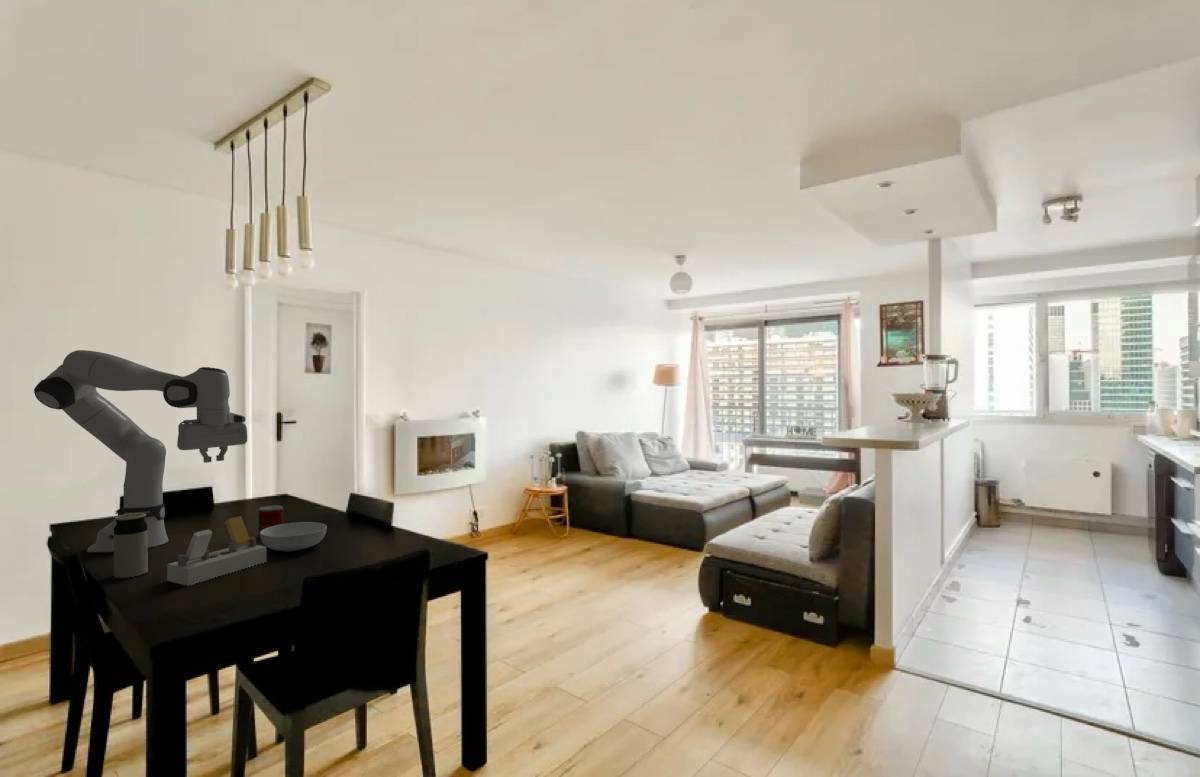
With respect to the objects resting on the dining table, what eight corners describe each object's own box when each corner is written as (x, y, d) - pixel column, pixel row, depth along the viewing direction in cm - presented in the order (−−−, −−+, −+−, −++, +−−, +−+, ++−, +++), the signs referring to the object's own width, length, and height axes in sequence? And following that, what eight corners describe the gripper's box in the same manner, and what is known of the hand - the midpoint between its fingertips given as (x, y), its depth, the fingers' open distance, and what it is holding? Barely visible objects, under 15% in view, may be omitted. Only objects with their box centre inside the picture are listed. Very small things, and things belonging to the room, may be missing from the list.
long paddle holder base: (167, 581, 172) (167, 554, 171) (246, 558, 193) (245, 534, 193) (188, 586, 167) (188, 558, 167) (266, 562, 189) (266, 538, 189)
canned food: (287, 535, 222) (287, 506, 222) (265, 540, 215) (265, 510, 215) (276, 532, 226) (275, 504, 226) (254, 537, 219) (254, 508, 219)
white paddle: (182, 560, 172) (192, 533, 170) (200, 555, 176) (210, 529, 174) (186, 563, 171) (196, 536, 169) (203, 558, 176) (213, 532, 174)
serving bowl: (299, 558, 193) (299, 538, 193) (245, 554, 197) (245, 534, 197) (339, 541, 214) (339, 523, 214) (289, 538, 218) (289, 520, 218)
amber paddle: (234, 549, 185) (223, 521, 187) (249, 545, 190) (239, 518, 192) (237, 547, 185) (227, 519, 186) (252, 543, 189) (242, 515, 191)
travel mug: (152, 573, 179) (152, 514, 178) (121, 580, 172) (120, 519, 172) (140, 568, 183) (140, 511, 182) (109, 576, 176) (108, 516, 176)
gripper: (184, 420, 175) (185, 466, 175) (250, 416, 194) (250, 458, 194) (172, 420, 178) (172, 465, 178) (237, 416, 196) (238, 457, 197)
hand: (213, 461), depth 186 cm, fingers open, 3 cm apart
